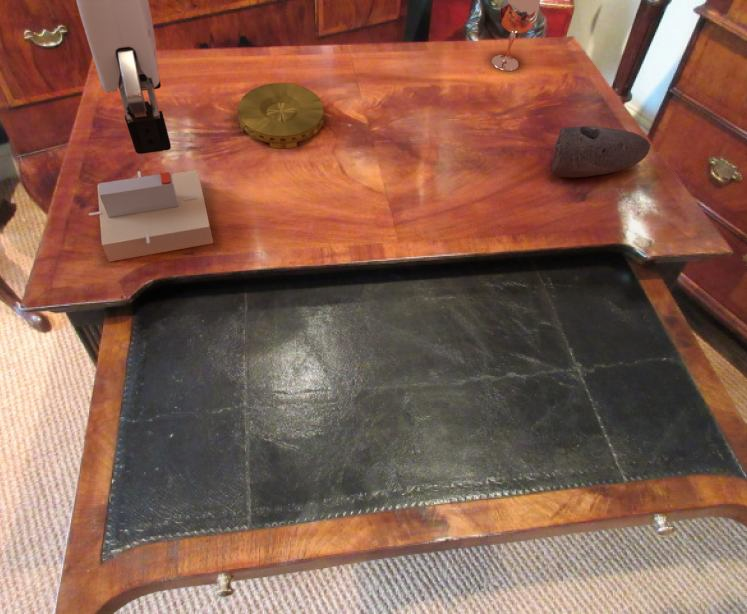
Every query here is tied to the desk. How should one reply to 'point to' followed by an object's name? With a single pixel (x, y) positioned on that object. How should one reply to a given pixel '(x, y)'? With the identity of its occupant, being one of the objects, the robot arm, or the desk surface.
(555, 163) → the perforated stone tool
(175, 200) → the grey rectangular block
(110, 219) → the tap plate
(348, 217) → the desk surface
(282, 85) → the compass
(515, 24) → the wineglass
